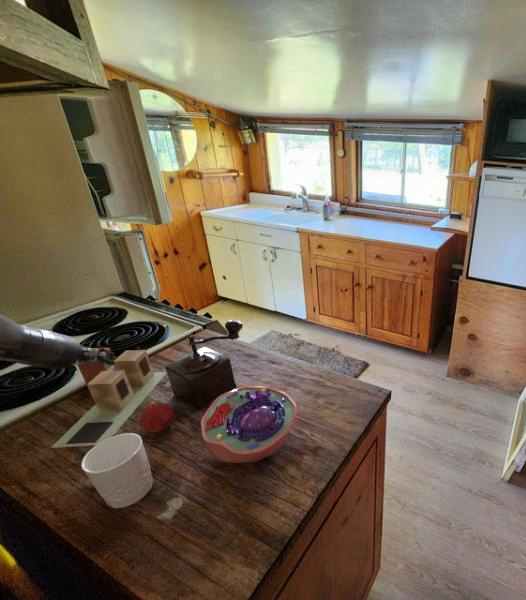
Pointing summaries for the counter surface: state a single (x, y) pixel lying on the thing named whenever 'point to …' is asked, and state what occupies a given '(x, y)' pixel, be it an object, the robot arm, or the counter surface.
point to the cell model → (248, 423)
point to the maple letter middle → (111, 391)
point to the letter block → (94, 368)
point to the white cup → (119, 470)
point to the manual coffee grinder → (203, 372)
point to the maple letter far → (135, 367)
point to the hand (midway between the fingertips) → (103, 361)
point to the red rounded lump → (156, 417)
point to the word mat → (105, 419)
